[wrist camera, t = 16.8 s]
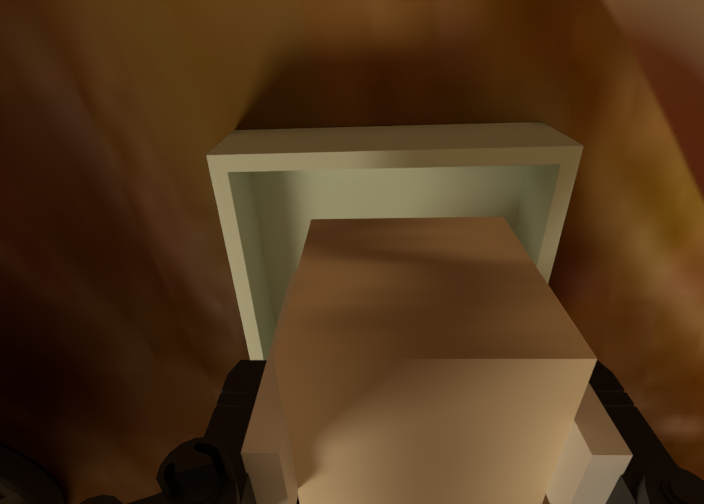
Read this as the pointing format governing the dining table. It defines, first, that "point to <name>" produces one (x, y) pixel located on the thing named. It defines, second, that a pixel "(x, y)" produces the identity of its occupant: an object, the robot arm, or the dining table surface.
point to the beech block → (426, 365)
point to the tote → (379, 193)
